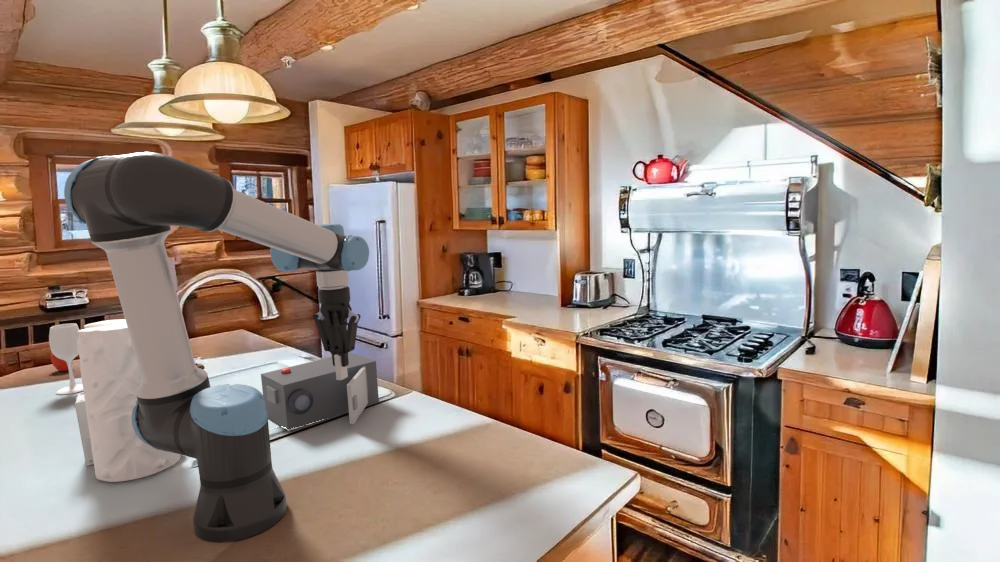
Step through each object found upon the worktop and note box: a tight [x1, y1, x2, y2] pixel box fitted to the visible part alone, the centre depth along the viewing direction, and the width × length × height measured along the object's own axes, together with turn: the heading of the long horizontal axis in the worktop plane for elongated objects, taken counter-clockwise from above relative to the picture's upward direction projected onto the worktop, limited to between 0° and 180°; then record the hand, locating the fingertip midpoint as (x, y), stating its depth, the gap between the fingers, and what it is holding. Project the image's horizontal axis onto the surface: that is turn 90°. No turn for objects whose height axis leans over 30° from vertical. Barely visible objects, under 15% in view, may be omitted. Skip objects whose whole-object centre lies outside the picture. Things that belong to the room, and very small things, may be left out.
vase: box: [77, 318, 182, 483], centre depth 119 cm, size 17×16×32 cm
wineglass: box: [48, 322, 84, 396], centre depth 175 cm, size 9×9×21 cm
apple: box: [50, 352, 74, 372], centre depth 198 cm, size 6×6×8 cm
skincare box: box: [74, 392, 94, 466], centre depth 126 cm, size 8×6×15 cm
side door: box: [347, 366, 369, 425], centre depth 144 cm, size 2×15×10 cm, turn 179°
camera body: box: [260, 351, 380, 429], centre depth 149 cm, size 16×27×13 cm, turn 134°
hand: (342, 378), depth 141 cm, fingers closed
